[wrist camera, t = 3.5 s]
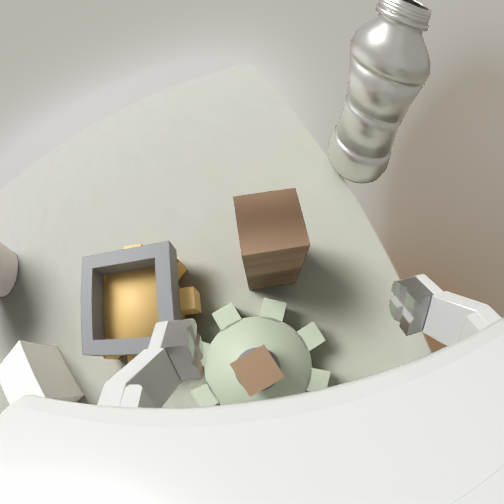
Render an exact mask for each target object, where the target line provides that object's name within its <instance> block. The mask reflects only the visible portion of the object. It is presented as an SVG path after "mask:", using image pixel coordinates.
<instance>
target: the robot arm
mask: <svg viewBox="0 0 504 504" xmlns="http://www.w3.org/2000/svg"><path fill="white" fill-rule="evenodd" d="M391 291H392V292H393V296H392V297H391V299H390V304H389V307H390V313H391V315H392V317H393V318H394V320H396V321H399V322H400V328H401V329H402V330H403V332H404V333H405V334H406V336H408V335H412V334H415V333H418V332H421V331H423V332H424V333H426V334H427V335H429V336H431V337H433V338H435V339H436V340H438V341H440V342H441V343H443V344H445V345H447V347H445V348H443V349H441V350H438V351H436V352H434V353H431V354H429V355H426V356H424V357H421V358H419V359H416V360H414V361H411V362H409V363H406V364H403V365H400V366H398V367H395V368H392V369H389V370H386V371H383V372H380V373H377V374H374V375H371V376H367V377H364V378H361V379H357V380H354V381H350V382H347V383H343V384H339V385H335V386H331V387H327V388H323V389H319V390H314V391H310V392H305V393H300V394H295V395H290V396H284V397H279V398H273V399H267V400H260V401H253V402H245V403H237V404H227V405H216V406H202V407H179V408H161V407H162V406H163V405H164V403H165V402H166V401H167V399H168V398H169V397H170V396H171V394H172V393H173V392H174V390H175V389H176V388H177V386H178V385H179V384H180V382H181V381H182V380H193V379H202V368H203V366H202V363H201V360H202V358H203V354H204V351H203V343H202V339H201V336H200V335H199V334H198V333H197V324H196V322H195V320H194V319H193V318H191V319H181V320H170V321H161V322H157V323H156V324H155V327H154V331H153V334H152V337H151V340H150V343H149V347H148V349H144V350H143V351H142V352H141V353H140V354H138V355H137V356H136V357H135V358H134V359H133V360H131V361H130V362H129V363H128V364H127V365H126V366H124V367H123V368H122V369H121V370H120V371H119V372H117V373H116V374H115V375H114V376H113V377H112V378H110V379H109V380H108V381H107V382H106V383H105V385H104V387H103V390H102V393H101V396H100V399H99V401H98V404H97V405H93V404H84V403H76V402H69V401H62V400H56V399H50V398H45V397H40V396H36V395H24V396H22V397H20V398H19V399H17V400H16V401H15V402H14V403H12V404H11V405H10V406H8V407H7V408H6V409H5V410H4V411H3V412H2V413H1V415H0V504H504V317H503V318H501V317H500V316H499V315H498V314H497V313H496V312H495V311H494V310H493V309H492V308H491V307H489V306H488V305H486V304H483V303H481V302H478V301H475V300H472V299H469V298H466V297H462V296H459V295H456V294H453V293H450V292H447V291H445V292H443V291H442V290H441V289H440V288H439V287H438V286H437V285H436V284H435V283H433V282H432V281H431V280H430V279H429V278H428V277H427V276H426V275H424V274H420V275H416V276H413V277H410V278H407V279H403V280H399V281H395V282H394V283H393V285H392V290H391Z"/></svg>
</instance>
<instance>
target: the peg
mask: <svg viewBox="0 0 504 504" xmlns="http://www.w3.org/2000/svg"><path fill="white" fill-rule="evenodd" d="M233 199H234V206H235V213H236V220H237V227H238V234H239V240H240V247H241V254H242V259H243V264H244V268H245V273H246V277H247V281H248V286H249V290H253V289H260V288H266V287H272V286H278V285H284V284H290V283H295V282H296V279H297V277H298V274H299V272H300V269H301V267H302V264H303V262H304V259H305V257H306V254H307V252H308V249H309V247H310V242H309V238H308V234H307V230H306V226H305V222H304V218H303V214H302V211H301V207H300V203H299V200H298V196H297V192H296V189H295V188H291V189H284V190H276V191H269V192H262V193H255V194H248V195H242V196H236V197H233Z"/></svg>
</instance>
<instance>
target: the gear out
mask: <svg viewBox="0 0 504 504" xmlns="http://www.w3.org/2000/svg"><path fill="white" fill-rule="evenodd" d="M186 271H187V269H186V268H185V267H184V266H183V264H182V263H181V262H180V261H179V260H178V259H177V255H176V249H175V248H174V247H173V245H172V244H171V243H170V242H169V241H165V242H160V243H154V244H149V245H142V244H137V245H132V246H126V247H124V249H122V250H117V251H111V252H106V253H101V254H96V255H91V256H86V257H83V259H82V276H81V337H82V353H83V355H90V356H103V357H104V358H105V359H119V358H120V357H121V356H124V355H127V359H128V363H129V362H130V361H131V360H133V359H134V358H135V357H136V356H137V355H138V354H140V353H141V352H142V351H143V350H144V349H148V347H149V343H150V340H151V337H152V334H153V331H154V327H155V324H156V323H157V322H161V321H170V320H181V319H185V315H190V314H198V313H202V310H201V301H200V293H199V292H198V291H197V290H196V289H195V288H194V287H193V286H190V287H183V288H180V287H179V285H178V281H179V280H180V278H181V277H182V276H183V275H184V273H185V272H186Z"/></svg>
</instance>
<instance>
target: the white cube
mask: <svg viewBox="0 0 504 504" xmlns="http://www.w3.org/2000/svg"><path fill="white" fill-rule="evenodd" d="M0 383H1V386H2V388H3V390H4V393H5V395H6V397H7V400H8V402H9V404H10V405H11V404H12V403H14V402H15V401H16V400H17V399H19V398H20V397H22V396H24V395H36V396H40V397H45V398H50V399H56V400H62V401H69V402H77V401H78V400H79V399H80V398H82V397H83V396H84V394H83V392H82V391H81V389H80V387H79V386H78V384H77V382H76V381H75V379H74V377H73V376H72V374H71V372H70V370H69V368H68V367H67V365H66V363H65V361H64V359H63V357H62V355H61V353H60V351H59V349H58V347H55V346H49V345H43V344H37V343H32V342H26V341H21V340H19V341H18V342H17V344H16V345H15V346H14V347H13V349H12V350H11V351H10V353H9V354H8V355H7V356H6V358H5V359H4V360H3V362H2V363H1V364H0Z"/></svg>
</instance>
